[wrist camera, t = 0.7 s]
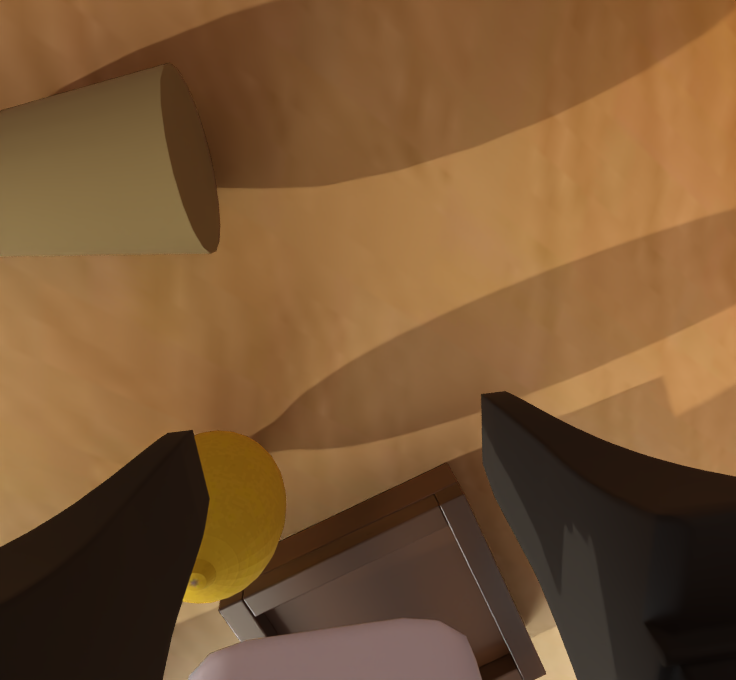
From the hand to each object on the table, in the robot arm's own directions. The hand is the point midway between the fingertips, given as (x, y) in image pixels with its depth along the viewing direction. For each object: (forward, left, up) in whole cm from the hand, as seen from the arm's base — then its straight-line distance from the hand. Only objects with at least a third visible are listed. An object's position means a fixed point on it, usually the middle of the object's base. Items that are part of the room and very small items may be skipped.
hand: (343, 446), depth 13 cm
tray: (-1, -15, -11) cm, 18 cm away
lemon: (-6, -4, -11) cm, 13 cm away
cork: (-2, +8, -7) cm, 11 cm away
